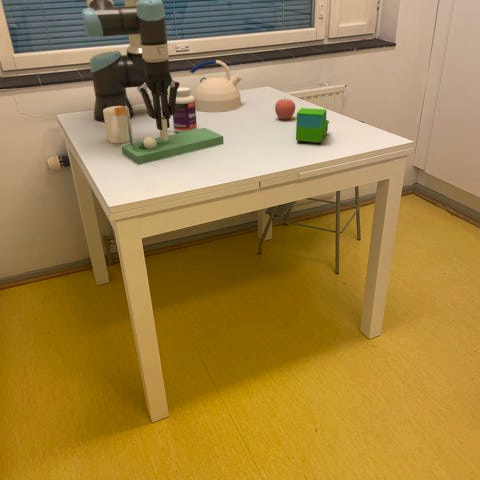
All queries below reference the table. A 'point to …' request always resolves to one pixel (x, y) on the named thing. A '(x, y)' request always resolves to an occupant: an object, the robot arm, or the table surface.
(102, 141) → the table surface
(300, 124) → the toy car
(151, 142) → the ball
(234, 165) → the table surface
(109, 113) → the mug
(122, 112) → the flag pin
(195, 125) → the pill bottle
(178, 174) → the table surface
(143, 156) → the putting mat
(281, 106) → the apple
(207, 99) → the kettle
